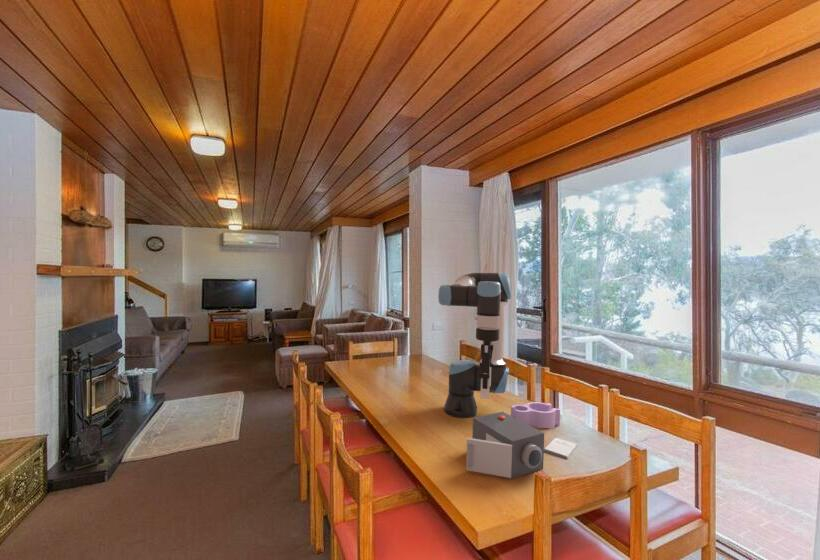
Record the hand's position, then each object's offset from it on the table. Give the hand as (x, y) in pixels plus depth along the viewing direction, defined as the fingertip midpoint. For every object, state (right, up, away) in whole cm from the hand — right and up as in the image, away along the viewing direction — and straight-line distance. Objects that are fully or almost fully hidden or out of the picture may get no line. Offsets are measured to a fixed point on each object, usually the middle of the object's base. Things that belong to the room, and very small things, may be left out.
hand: (485, 391), depth 121 cm
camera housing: (+9, -25, +4) cm, 27 cm away
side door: (0, -24, -6) cm, 25 cm away
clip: (+29, -25, +37) cm, 53 cm away
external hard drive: (+31, -26, +14) cm, 43 cm away
